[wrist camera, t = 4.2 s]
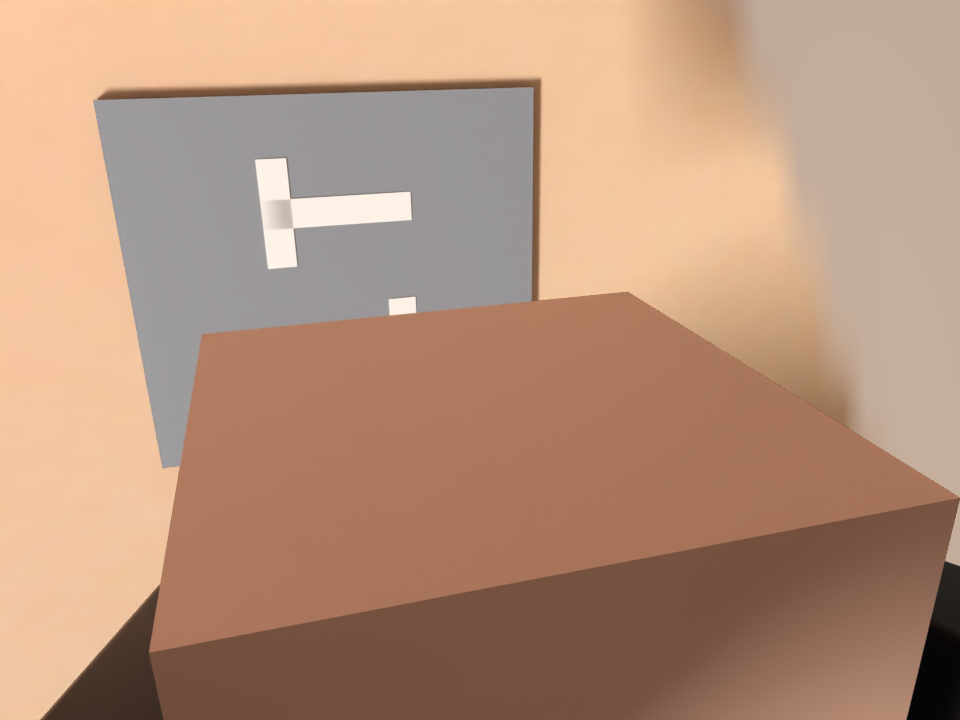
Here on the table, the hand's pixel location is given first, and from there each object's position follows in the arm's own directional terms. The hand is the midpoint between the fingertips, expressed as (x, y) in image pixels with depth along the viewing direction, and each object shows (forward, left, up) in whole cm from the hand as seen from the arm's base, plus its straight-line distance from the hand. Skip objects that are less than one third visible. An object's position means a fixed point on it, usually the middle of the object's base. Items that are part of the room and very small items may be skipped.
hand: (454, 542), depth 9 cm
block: (0, 0, -1) cm, 1 cm away
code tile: (0, 0, -12) cm, 12 cm away
